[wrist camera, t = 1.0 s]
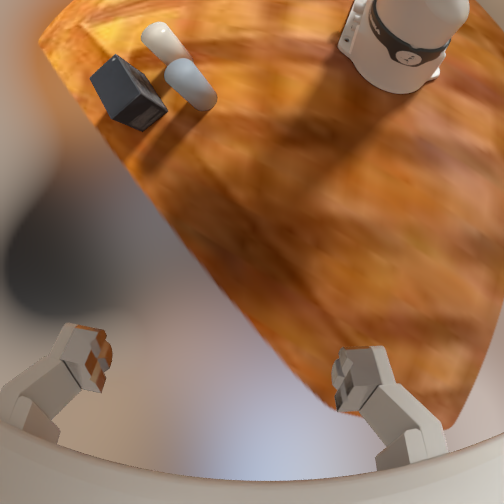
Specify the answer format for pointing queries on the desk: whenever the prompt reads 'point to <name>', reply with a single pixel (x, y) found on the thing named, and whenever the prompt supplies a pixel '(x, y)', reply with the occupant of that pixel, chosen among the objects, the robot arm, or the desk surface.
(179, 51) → the cream post
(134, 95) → the small box
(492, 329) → the desk surface
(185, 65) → the slate post
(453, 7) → the robot arm
